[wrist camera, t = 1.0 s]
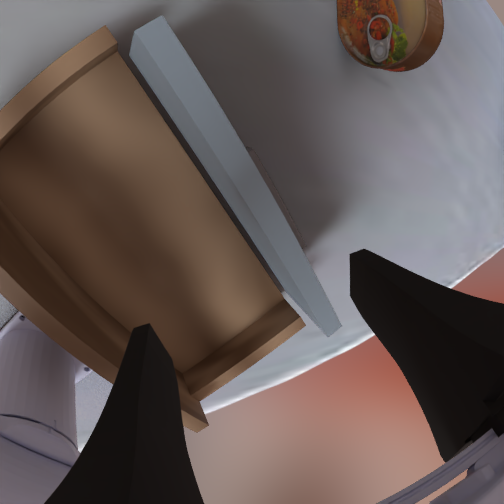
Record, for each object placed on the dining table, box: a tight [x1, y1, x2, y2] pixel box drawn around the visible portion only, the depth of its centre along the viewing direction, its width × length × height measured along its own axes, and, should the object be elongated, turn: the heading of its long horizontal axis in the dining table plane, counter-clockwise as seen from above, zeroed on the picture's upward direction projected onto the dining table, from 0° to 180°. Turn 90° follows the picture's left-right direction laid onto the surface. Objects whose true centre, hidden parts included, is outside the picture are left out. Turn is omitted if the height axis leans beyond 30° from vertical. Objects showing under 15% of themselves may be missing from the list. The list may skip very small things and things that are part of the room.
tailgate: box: [129, 15, 342, 337], centre depth 17 cm, size 2×20×6 cm, turn 31°
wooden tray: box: [0, 25, 306, 432], centre depth 18 cm, size 12×24×7 cm, turn 30°
